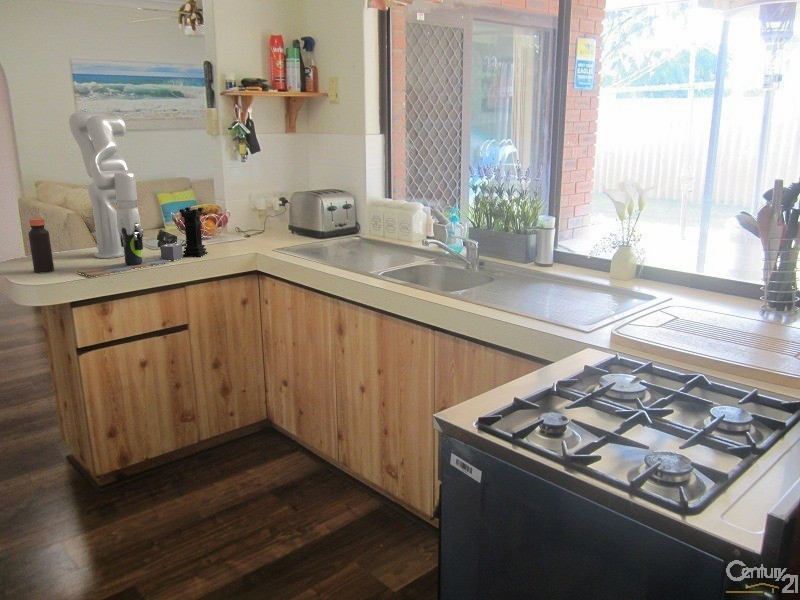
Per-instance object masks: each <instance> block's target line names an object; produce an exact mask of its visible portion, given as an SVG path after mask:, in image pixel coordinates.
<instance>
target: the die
mask: <svg viewBox="0 0 800 600" xmlns="http://www.w3.org/2000/svg"><path fill="white" fill-rule="evenodd" d="M183 254H184V253H183V244H181V243H166V244H162V245H160V256H161V258H160V259H163V260H173V261H172V262H175V261H174V260H177V259H180V260H182V259H181V258H183V259H184V257H183ZM177 261H178V260H177Z"/></svg>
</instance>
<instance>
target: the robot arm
mask: <svg viewBox="0 0 800 600" xmlns="http://www.w3.org/2000/svg"><path fill="white" fill-rule="evenodd" d="M68 124H69V129H70V131H71V132H70V133H71V135H72V137H73V139H74V140H75V142H76V143H77V145H78V147H79V150H80V152H81V156H82V159H83V163H84V167H85V170H86V173H87V175H88V176H89V178H91V179H92V182H90V183H89V185H88V187H87V192H88V196H89V200H90V203H91V208H92V210H93V211H92V213H93V220H94V221H93V222H94V229H95V235H96V243H97V245H96V247H95V248H96V249H97V250H98V251H97V252H95V253H94V257H95V258H98V259H114V258H122V257H125V255H124V247H123V239H122V231H121V229H122V227H124V228H125V229H126V231H127V235H133V237H134V239H135V240H134V247H135V250H136V251H137V250H141V251H142V250H143V249H144V245H143V243H144V242H143V238H144V232H145V231H144V228H143V227H142V225H141V218H140V212H139V203H138V202H139V201H138V193H137V182H136V175H135V173H134V172H132V171H129V166H128V164H127V161H126V160H125V158H124V157H123V156H121V155H117V153H118V150H119V146H118V143H117V141H116V138H120V137H124V136H125V135H126V134H127V125H126V123H125V120H124V119H123V118H122V117H121V116H120V115H119V114H116V113H114V112H111V111H77V112H73V113H72V114H70V116H69V119H68ZM115 203H116V207H117V209H115V207H114V206H113V205H112V204H115ZM135 229H136V230H137V232H134V231H135ZM136 235H137V237H136Z"/></svg>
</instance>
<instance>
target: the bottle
mask: <svg viewBox="0 0 800 600" xmlns="http://www.w3.org/2000/svg"><path fill="white" fill-rule="evenodd" d="M28 221H29V227H31V229H30V230H29V231H28V233H27V234H28V235H27V236H28V240H29V246H30V247H29V248H30V253H31V258H32V259H31V260H32V265H33V266H32V267H33V272H34V273H36V272H47V273H50V272H49V271H51V272H53V271H55V266H54V264H55V263H54V258H53V252H52V245H51V240H50V231H48V230H47V229H46V228H45V226H46V223H45V218H41V217H38V218H37V217H36V218H35V217H34V218H30V219H29V220H28Z"/></svg>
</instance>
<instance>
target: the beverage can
mask: <svg viewBox="0 0 800 600" xmlns="http://www.w3.org/2000/svg"><path fill="white" fill-rule="evenodd" d="M121 231H122V239H123V247H122V248H123V250H124V255H125V256H124V261H125V262H124V263H126V264H127V265H139V264H141V263H142V260H143V255H142V250H137V251H136V250H135V247H134V240H135V239H134V237H133V235H127V231H126V229H125V228H124V227H122V229H121ZM134 232H137V230H136V229H135V231H134ZM136 237H137V235H136Z"/></svg>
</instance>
